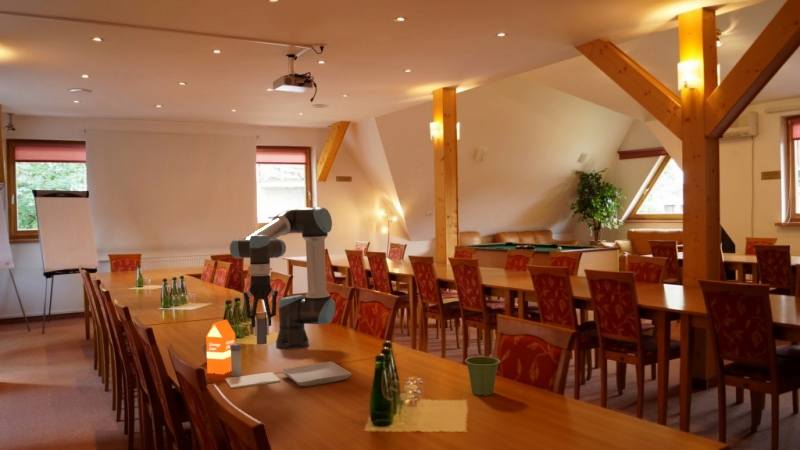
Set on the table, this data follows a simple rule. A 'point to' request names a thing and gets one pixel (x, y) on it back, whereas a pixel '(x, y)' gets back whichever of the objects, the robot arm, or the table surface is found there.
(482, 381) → the plant pot
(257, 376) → the paper
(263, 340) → the marker
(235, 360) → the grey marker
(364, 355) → the table surface
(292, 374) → the salad plate
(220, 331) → the orange juice
